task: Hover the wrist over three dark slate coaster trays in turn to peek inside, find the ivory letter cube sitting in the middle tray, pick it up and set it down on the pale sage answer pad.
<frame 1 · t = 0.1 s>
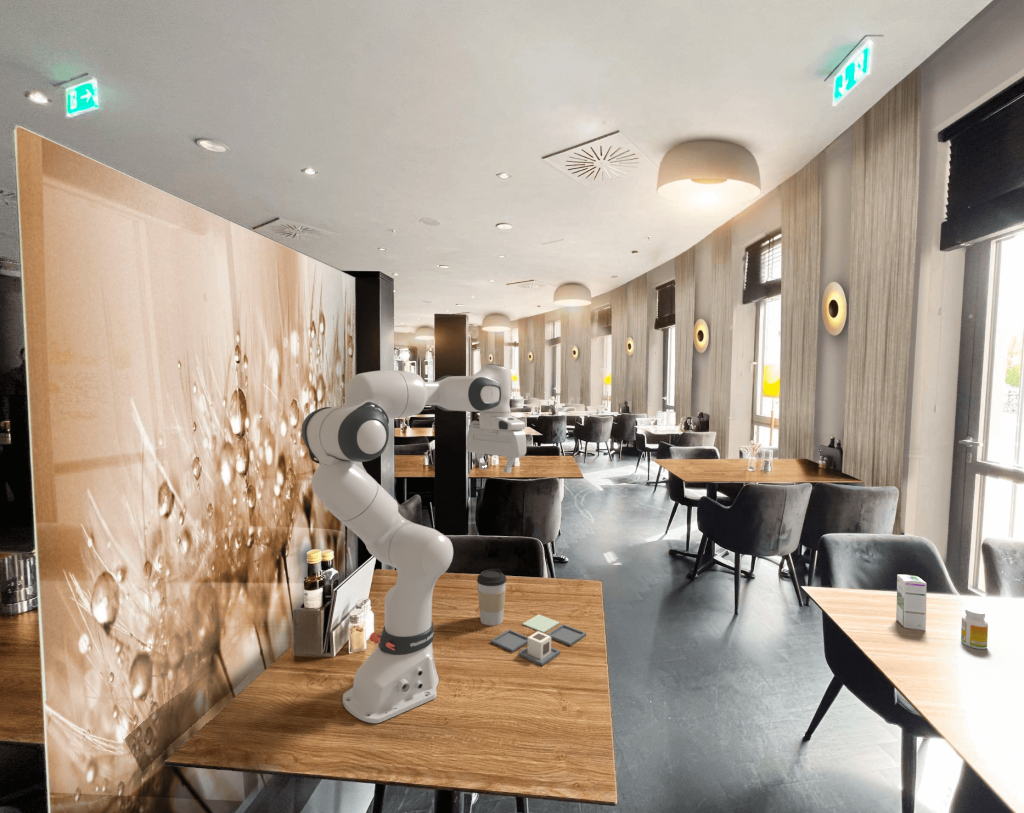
hand: (495, 470, 142), 48 cm above the table, fingers open, 8 cm apart
answer pad: (541, 624, 151), on the table
supplement bottle: (973, 645, 140), on the table
coffee cup: (491, 620, 153), on the table
tray a: (511, 642, 140), on the table
tray b: (539, 654, 133), on the table
syrup box: (910, 625, 151), on the table
tray c: (566, 636, 143), on the table
letter cube: (539, 653, 133), resting on tray b
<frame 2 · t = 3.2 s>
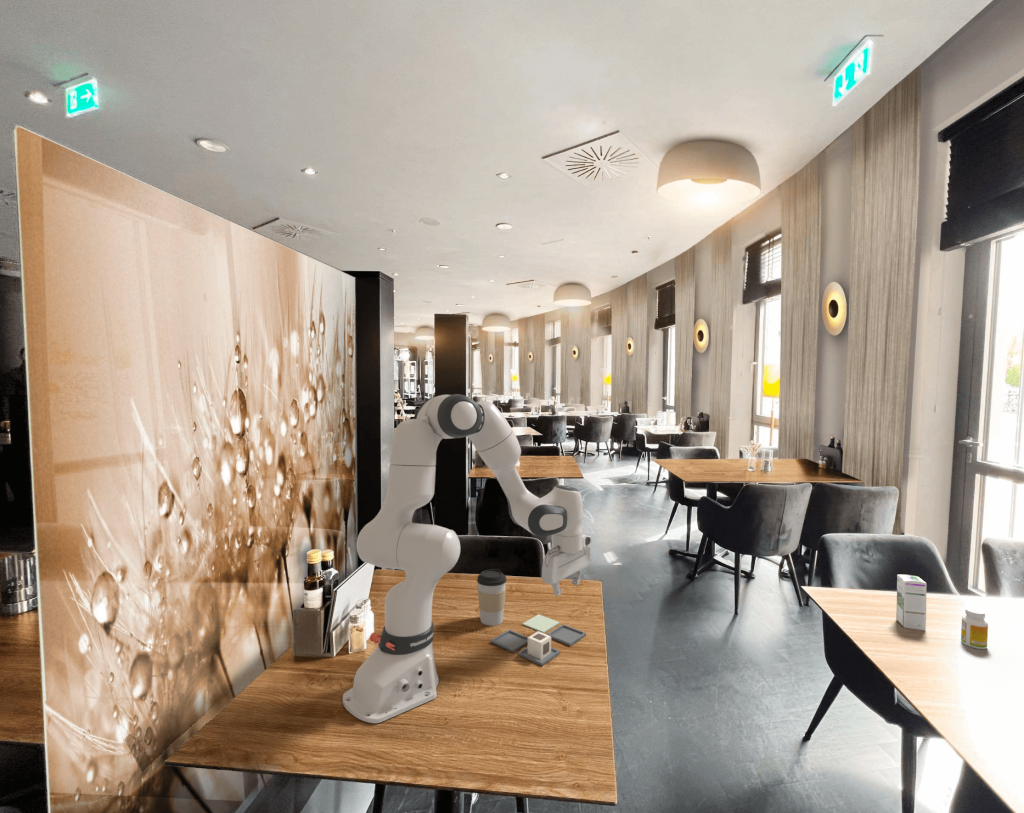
hand: (566, 589, 143), 14 cm above the table, fingers open, 8 cm apart
nothing on the table moved.
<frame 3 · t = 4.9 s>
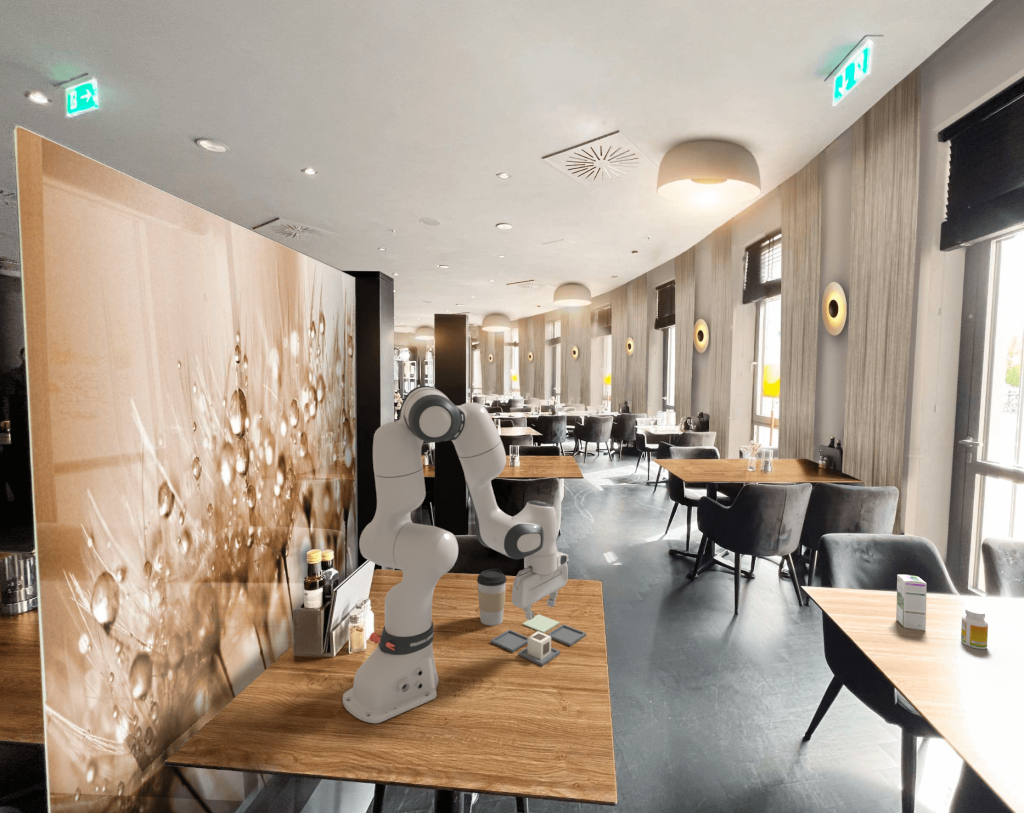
hand: (540, 612, 133), 12 cm above the table, fingers open, 8 cm apart
nothing on the table moved.
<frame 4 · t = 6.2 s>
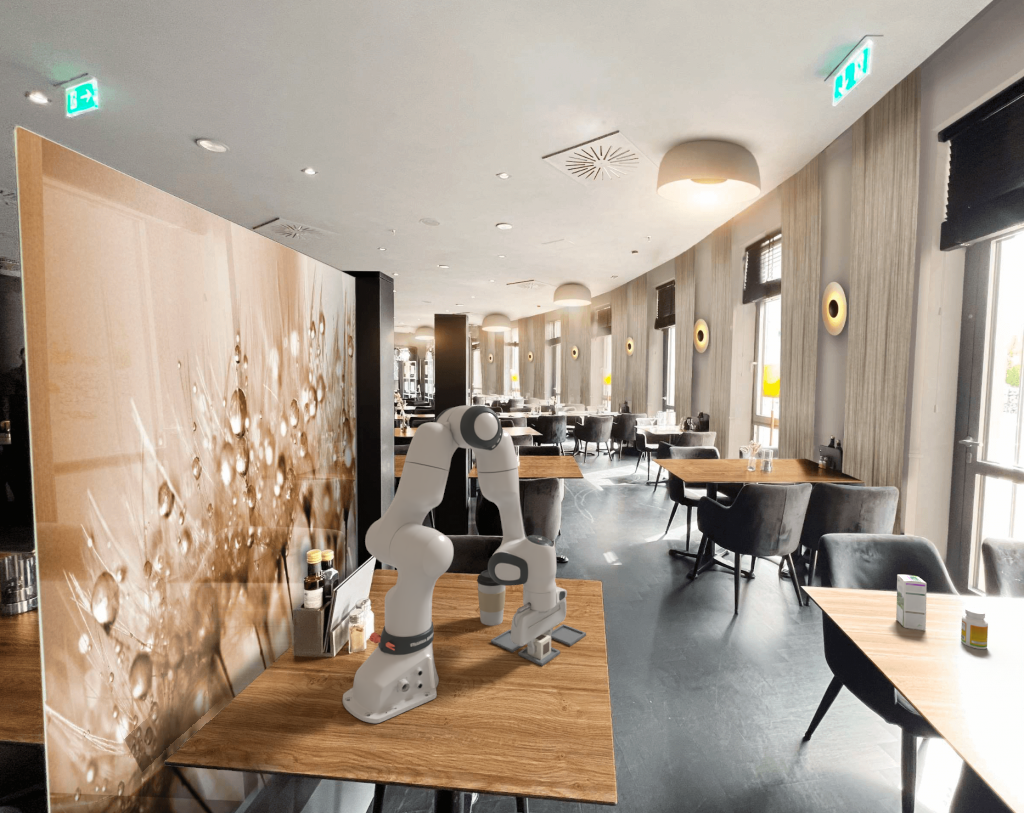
hand: (539, 648, 133), 2 cm above the table, fingers closed on letter cube, 4 cm apart
letter cube: (539, 653, 133), resting on tray b, touching gripper
everything else where it was.
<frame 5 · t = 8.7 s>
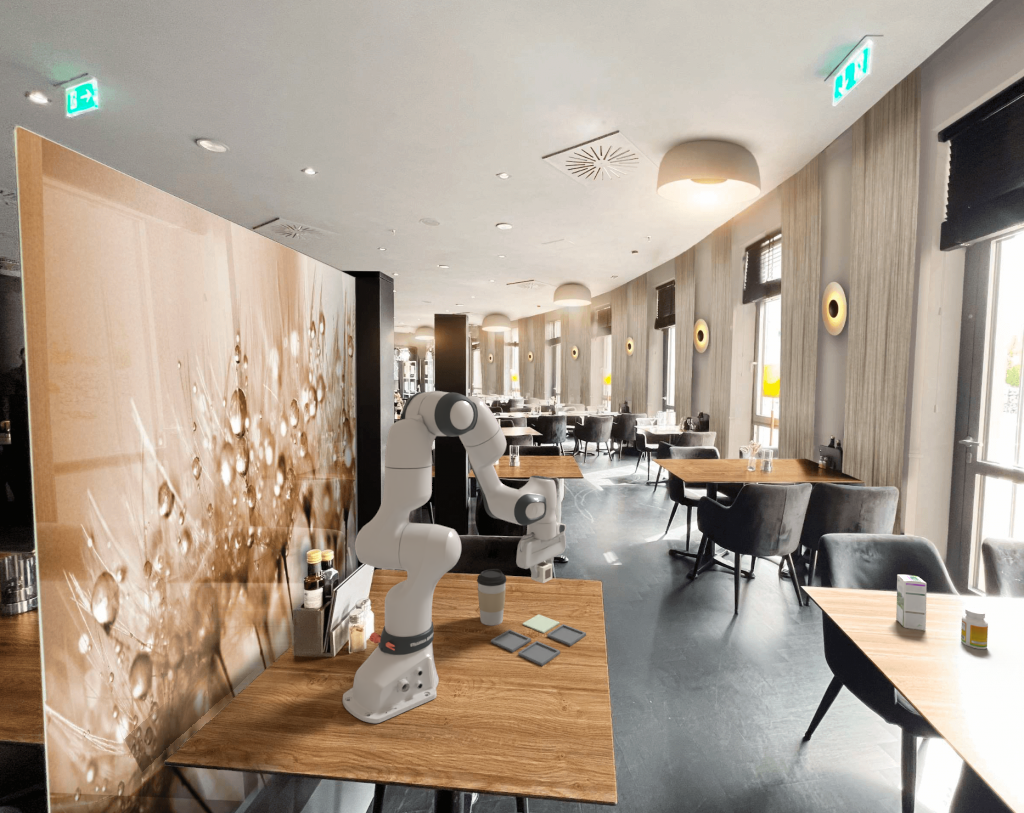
hand: (541, 574, 150), 15 cm above the table, fingers closed on letter cube, 4 cm apart
letter cube: (541, 579, 150), point 14 cm above the table, touching gripper
everything else where it was.
when the fingers open (3 cm above the table, at t = 11.2 s): letter cube drops 2 cm, resting on answer pad.
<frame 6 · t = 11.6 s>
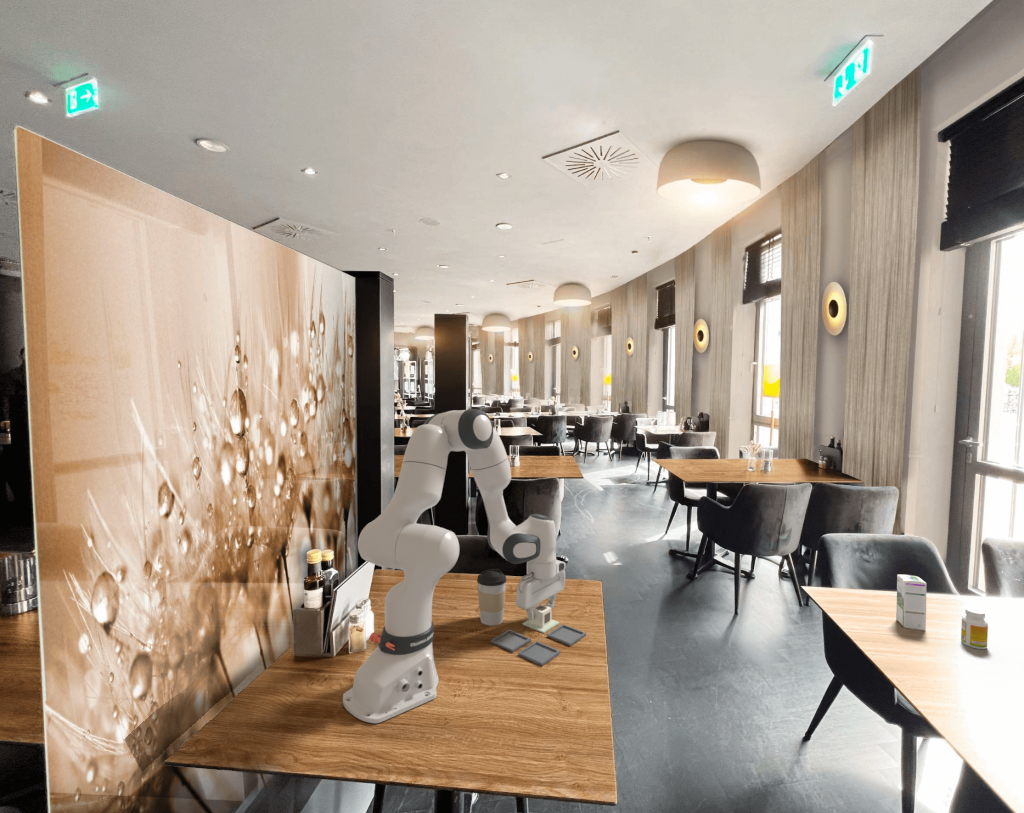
hand: (541, 613, 150), 3 cm above the table, fingers open, 8 cm apart
letter cube: (541, 622, 150), resting on answer pad
everything else where it was.
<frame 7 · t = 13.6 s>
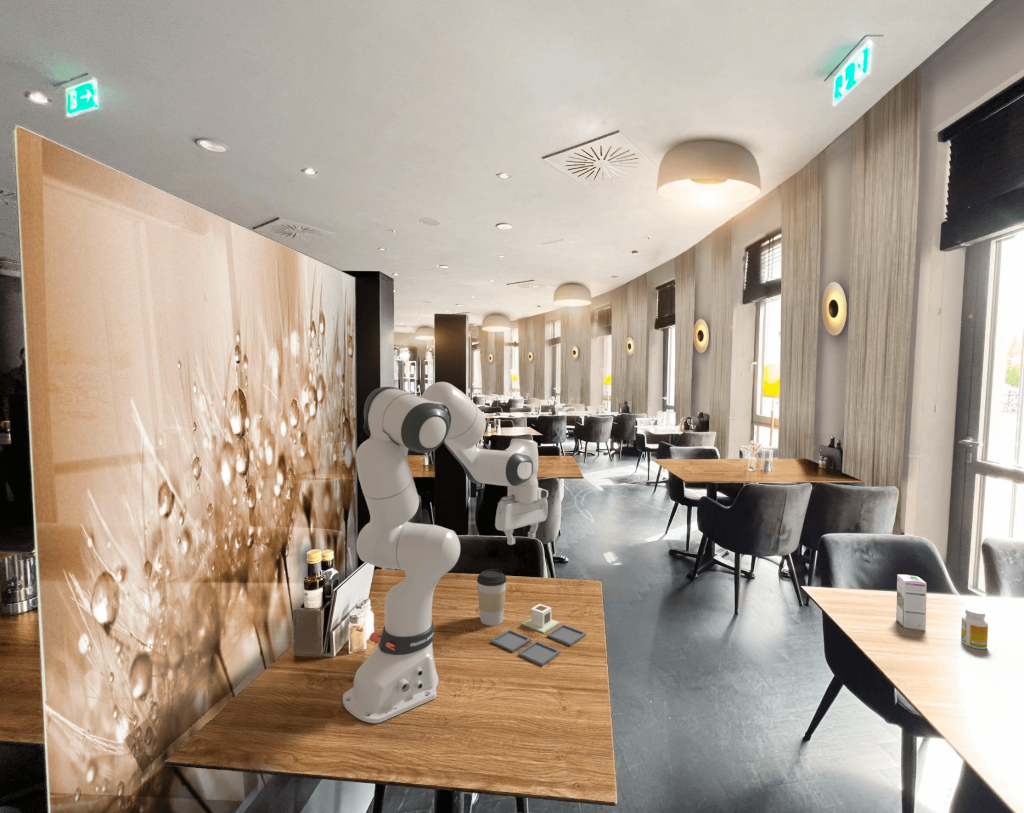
hand: (521, 541, 145), 27 cm above the table, fingers open, 8 cm apart
nothing on the table moved.
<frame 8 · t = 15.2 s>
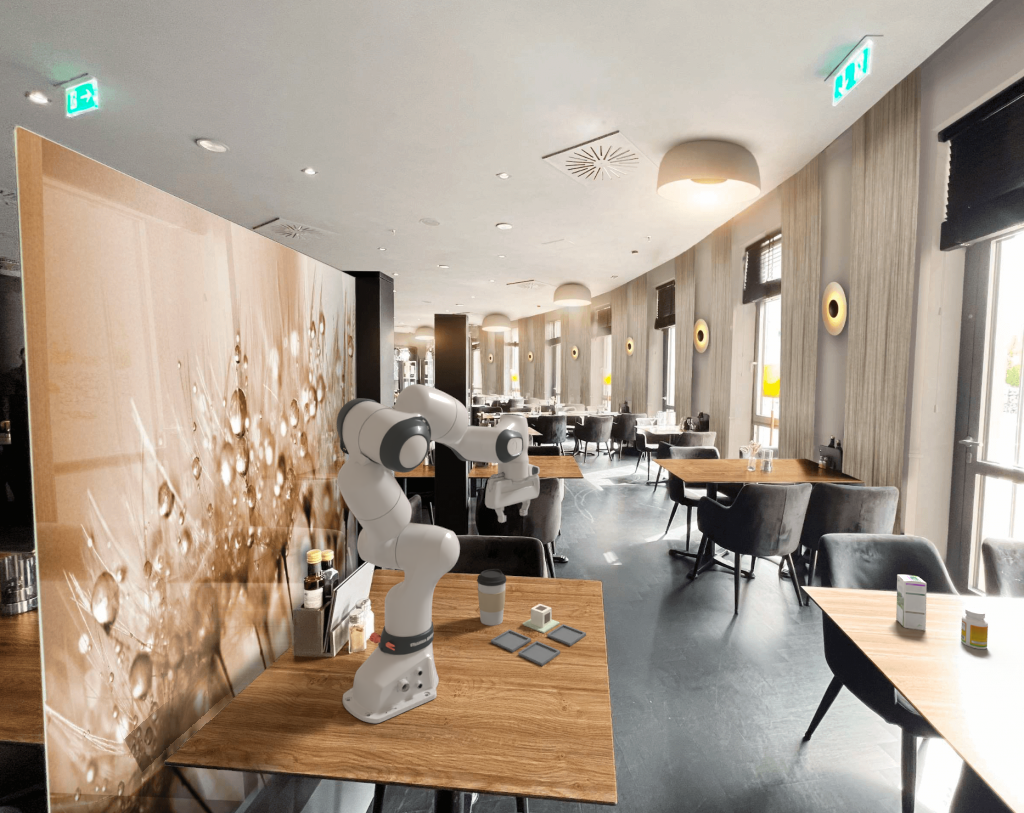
hand: (513, 518, 142), 34 cm above the table, fingers open, 8 cm apart
nothing on the table moved.
at the end: letter cube inside the target area on the answer pad (0.1 cm from its centre), point 0.4 cm above the answer pad's base; the gripper is holding nothing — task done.
